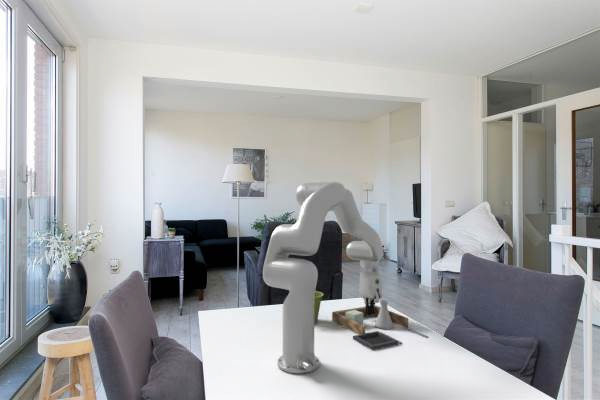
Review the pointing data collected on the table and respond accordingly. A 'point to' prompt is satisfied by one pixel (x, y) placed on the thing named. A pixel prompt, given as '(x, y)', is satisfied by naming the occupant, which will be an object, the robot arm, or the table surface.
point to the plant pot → (317, 305)
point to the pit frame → (375, 340)
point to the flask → (383, 317)
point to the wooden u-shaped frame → (358, 328)
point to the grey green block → (355, 316)
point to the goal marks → (411, 331)
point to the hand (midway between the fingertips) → (369, 314)
